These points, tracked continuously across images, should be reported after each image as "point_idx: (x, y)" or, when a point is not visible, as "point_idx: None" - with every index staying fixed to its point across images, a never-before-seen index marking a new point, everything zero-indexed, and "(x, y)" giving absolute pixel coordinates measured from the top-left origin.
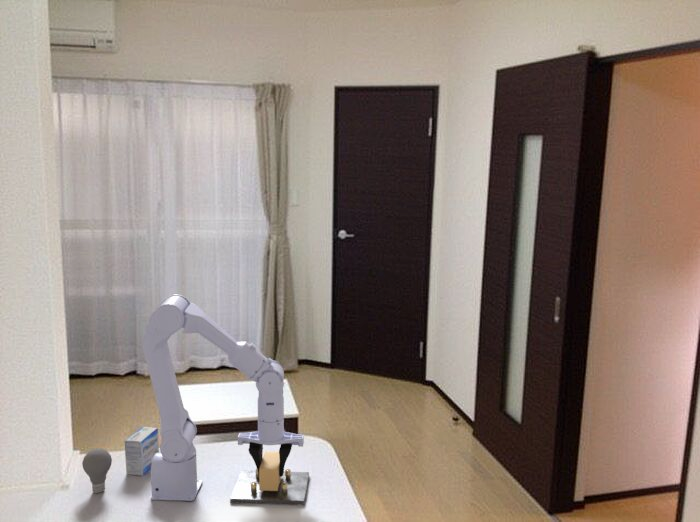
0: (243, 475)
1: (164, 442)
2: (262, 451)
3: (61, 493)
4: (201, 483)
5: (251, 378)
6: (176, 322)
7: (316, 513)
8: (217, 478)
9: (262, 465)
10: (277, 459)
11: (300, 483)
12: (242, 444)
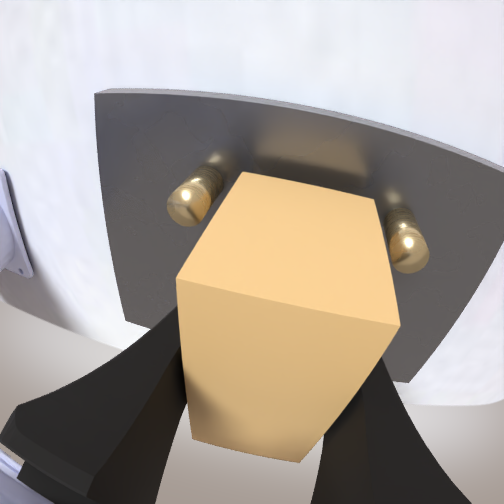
0: (117, 150)
1: None
2: (152, 393)
3: None
4: (5, 191)
5: None
6: None
7: (424, 397)
8: (32, 133)
9: (203, 425)
10: (316, 411)
11: (449, 283)
12: (10, 457)
